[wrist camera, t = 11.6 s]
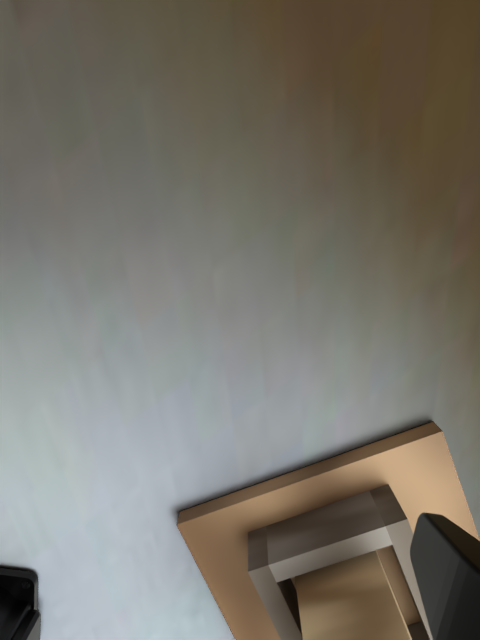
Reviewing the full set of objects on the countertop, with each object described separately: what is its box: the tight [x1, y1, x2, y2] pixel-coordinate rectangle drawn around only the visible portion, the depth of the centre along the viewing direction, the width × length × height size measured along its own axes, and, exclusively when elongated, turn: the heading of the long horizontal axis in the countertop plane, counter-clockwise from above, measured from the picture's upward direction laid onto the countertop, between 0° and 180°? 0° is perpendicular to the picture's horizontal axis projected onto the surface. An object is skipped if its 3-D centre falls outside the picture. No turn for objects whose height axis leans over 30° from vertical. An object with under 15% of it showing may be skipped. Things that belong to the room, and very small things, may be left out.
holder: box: [177, 422, 480, 640], centre depth 21 cm, size 14×13×4 cm
